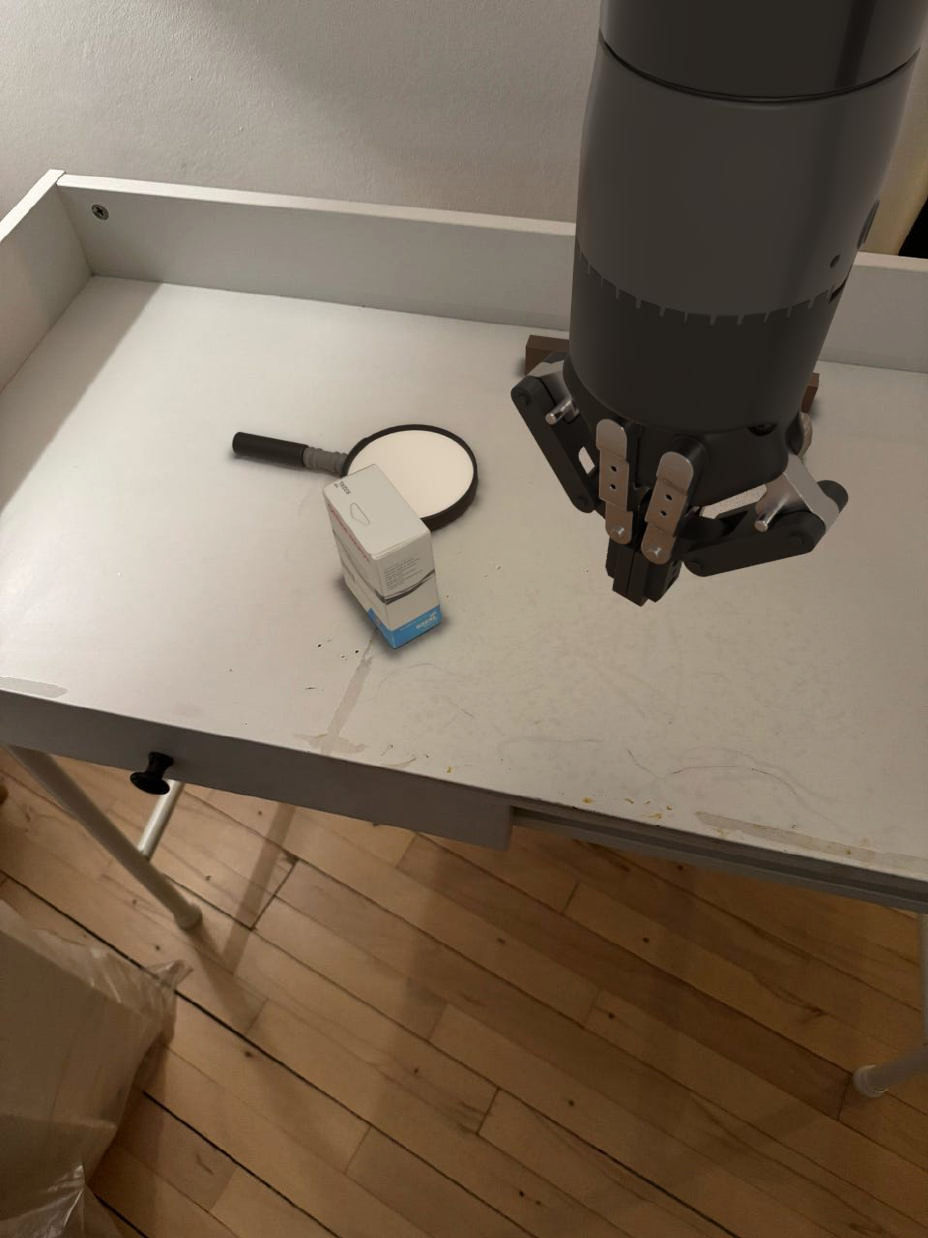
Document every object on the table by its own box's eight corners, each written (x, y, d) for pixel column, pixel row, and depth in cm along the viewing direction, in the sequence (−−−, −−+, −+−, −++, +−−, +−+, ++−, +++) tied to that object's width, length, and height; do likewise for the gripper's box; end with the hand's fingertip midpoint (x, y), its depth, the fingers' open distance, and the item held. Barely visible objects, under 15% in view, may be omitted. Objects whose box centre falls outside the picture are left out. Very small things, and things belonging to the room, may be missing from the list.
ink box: (444, 623, 68) (433, 529, 59) (392, 651, 67) (372, 560, 57) (393, 556, 73) (375, 458, 63) (343, 581, 71) (317, 485, 62)
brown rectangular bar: (808, 401, 81) (819, 373, 78) (807, 415, 80) (818, 386, 77) (529, 362, 87) (529, 334, 84) (524, 374, 86) (525, 346, 83)
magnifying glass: (266, 408, 84) (261, 391, 83) (493, 450, 79) (493, 433, 78) (210, 496, 78) (203, 480, 76) (454, 547, 73) (453, 531, 71)
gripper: (439, 205, 23) (470, 569, 38) (894, 394, 18) (729, 730, 33) (591, 92, 26) (565, 470, 41) (1019, 229, 21) (817, 605, 36)
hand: (639, 586), depth 37 cm, fingers closed
